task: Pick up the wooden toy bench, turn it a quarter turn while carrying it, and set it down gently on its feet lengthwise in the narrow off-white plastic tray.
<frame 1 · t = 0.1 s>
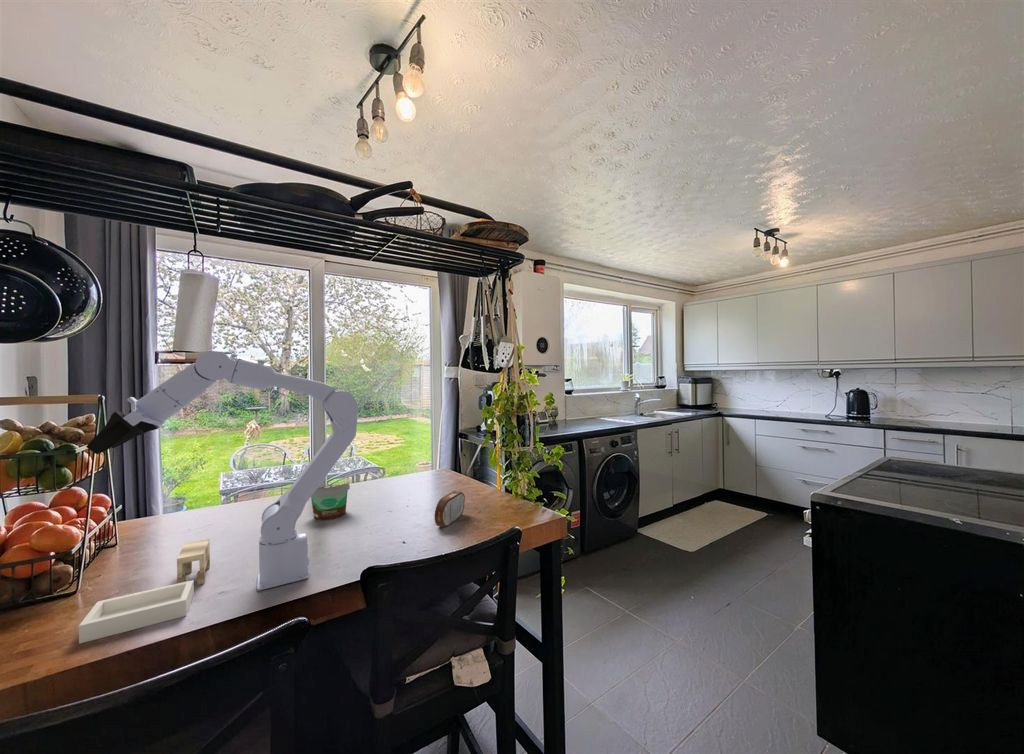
hand: (100, 447, 72), 32 cm above the table, tool tilted 50°, fingers open, 7 cm apart
food container: (331, 517, 124), on the table
tin: (451, 522, 118), on the table
tray: (142, 616, 73), on the table
wooden toy bench: (194, 577, 87), on the table
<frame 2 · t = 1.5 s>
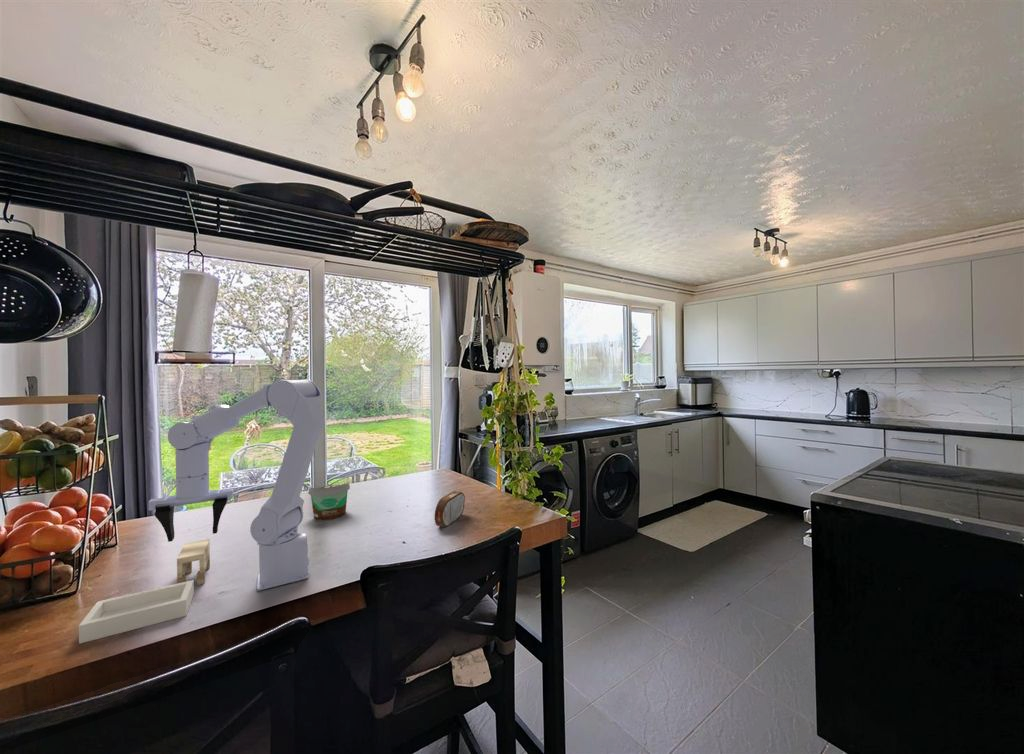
hand: (193, 535, 87), 9 cm above the table, tool pointing down, fingers open, 7 cm apart
nothing on the table moved.
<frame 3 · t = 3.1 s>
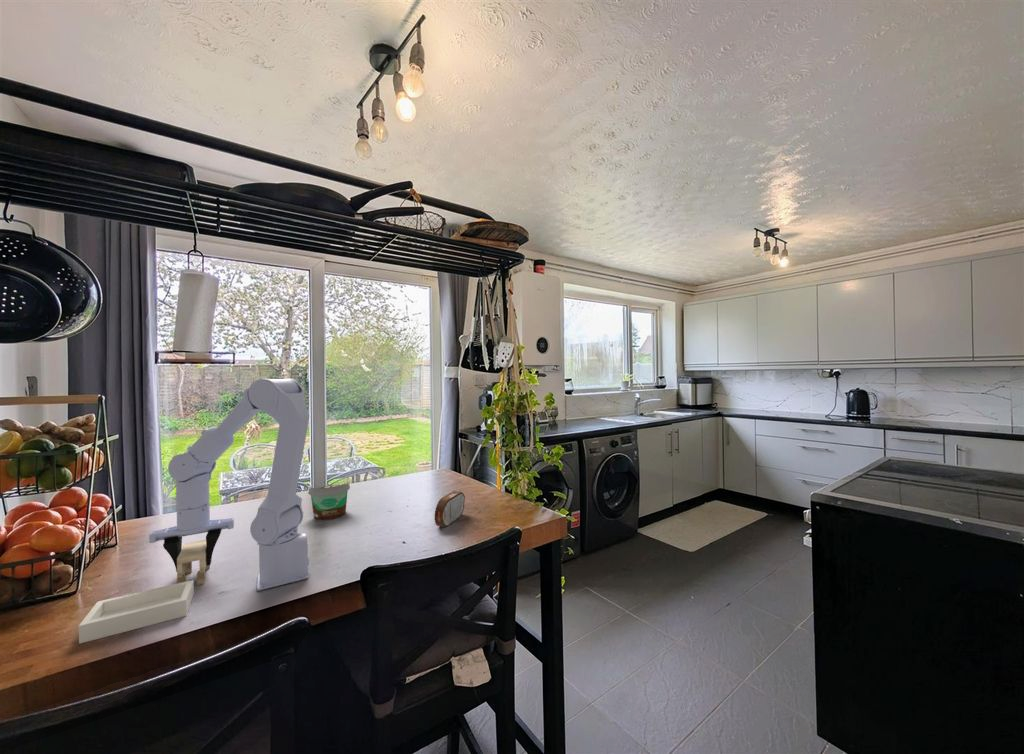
hand: (194, 566, 87), 2 cm above the table, tool pointing down, fingers closed on wooden toy bench, 4 cm apart
wooden toy bench: (194, 577, 87), on the table, touching gripper
everything else where it was.
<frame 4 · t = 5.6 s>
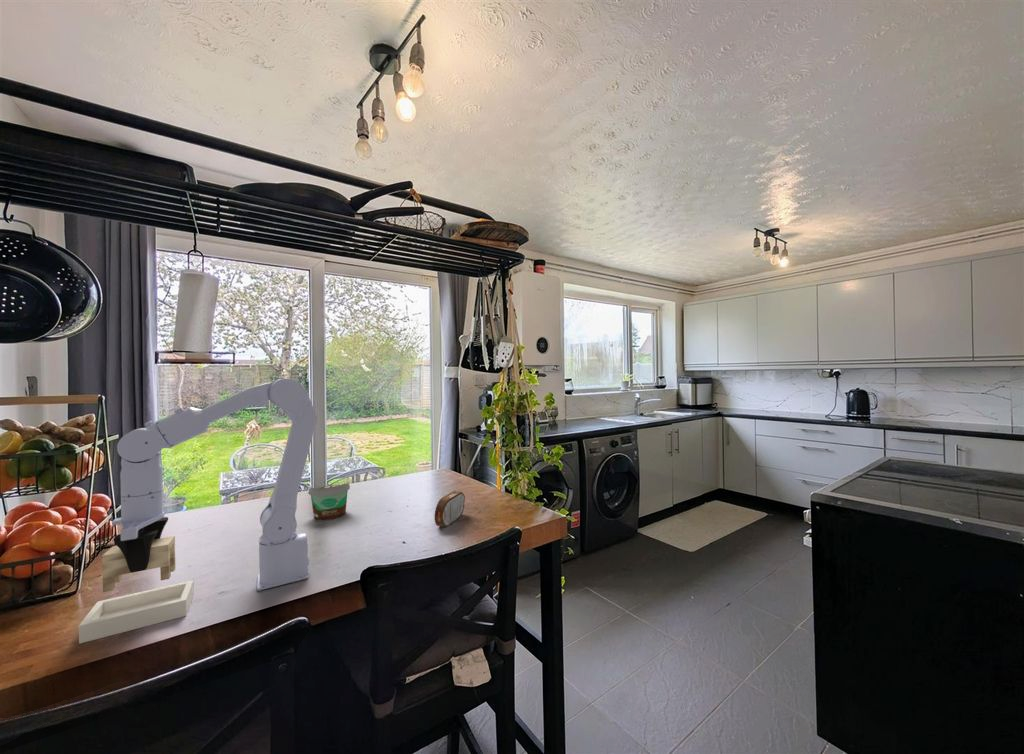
hand: (143, 564, 73), 9 cm above the table, tool pointing down, fingers closed on wooden toy bench, 4 cm apart
wooden toy bench: (141, 579, 73), point 7 cm above the table, touching gripper
everything else where it was.
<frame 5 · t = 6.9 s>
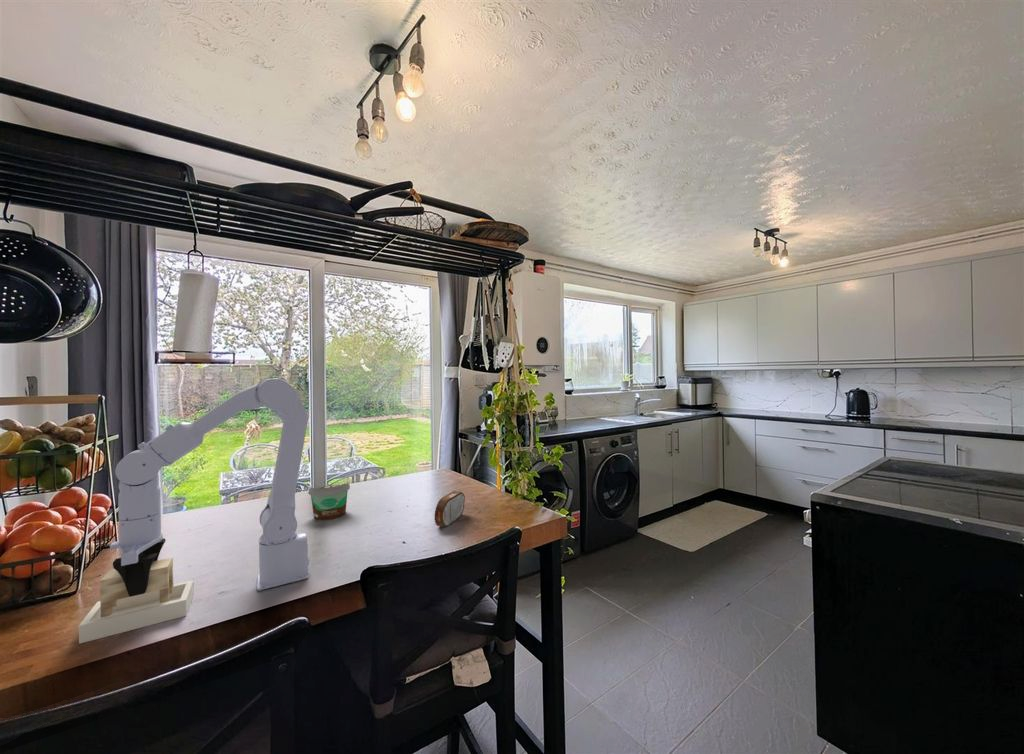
hand: (141, 588, 73), 5 cm above the table, tool pointing down, fingers closed on wooden toy bench, 4 cm apart
wooden toy bench: (139, 603, 73), point 3 cm above the table, touching gripper
everything else where it was.
when the fingers open (4 cm above the table, at t = 8.0 s): wooden toy bench stays where it is, resting on tray.
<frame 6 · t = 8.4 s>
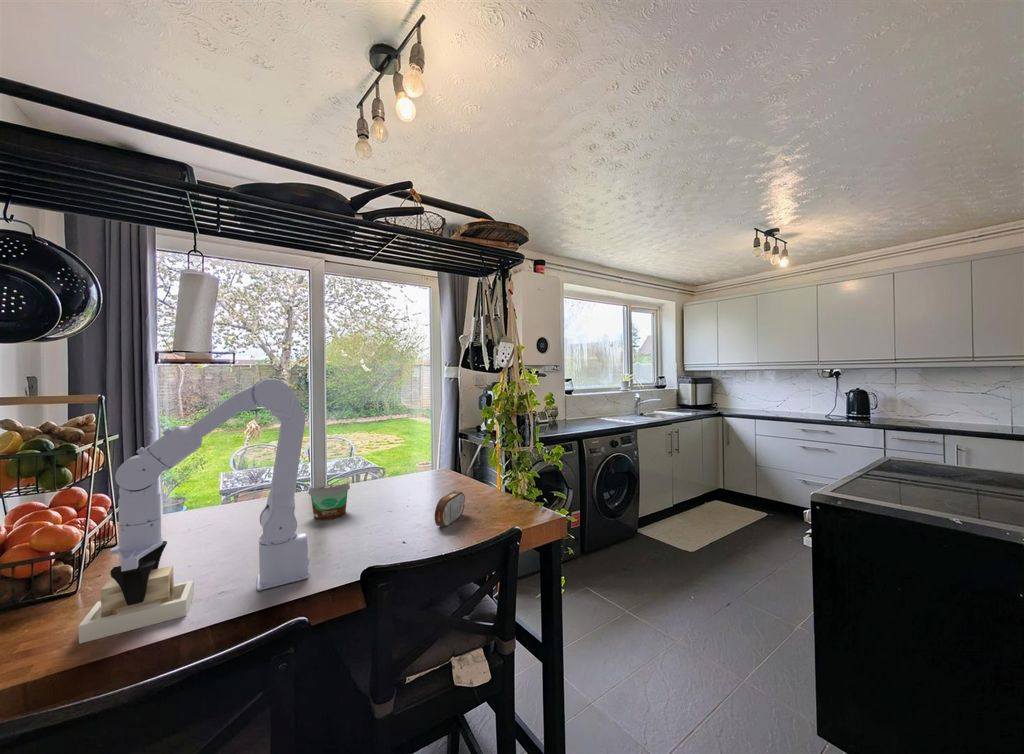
hand: (141, 593, 73), 4 cm above the table, tool pointing down, fingers open, 7 cm apart
wooden toy bench: (139, 611, 73), point 1 cm above the table, touching tray
everything else where it was.
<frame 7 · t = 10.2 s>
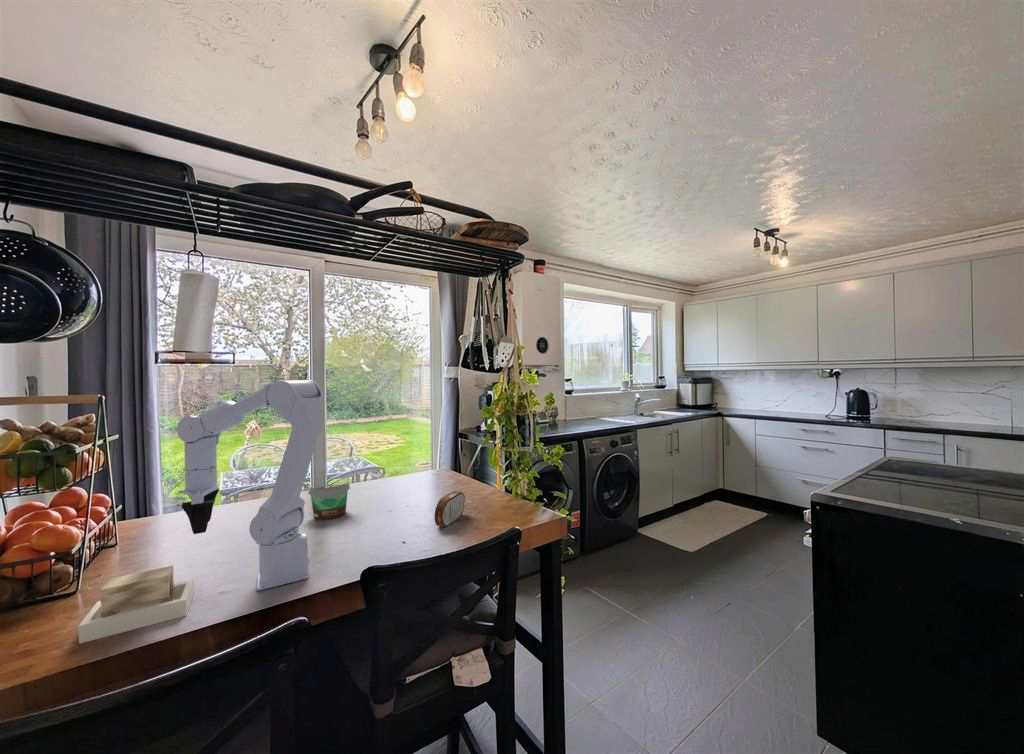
hand: (202, 527, 89), 10 cm above the table, tool pointing down, fingers open, 7 cm apart
nothing on the table moved.
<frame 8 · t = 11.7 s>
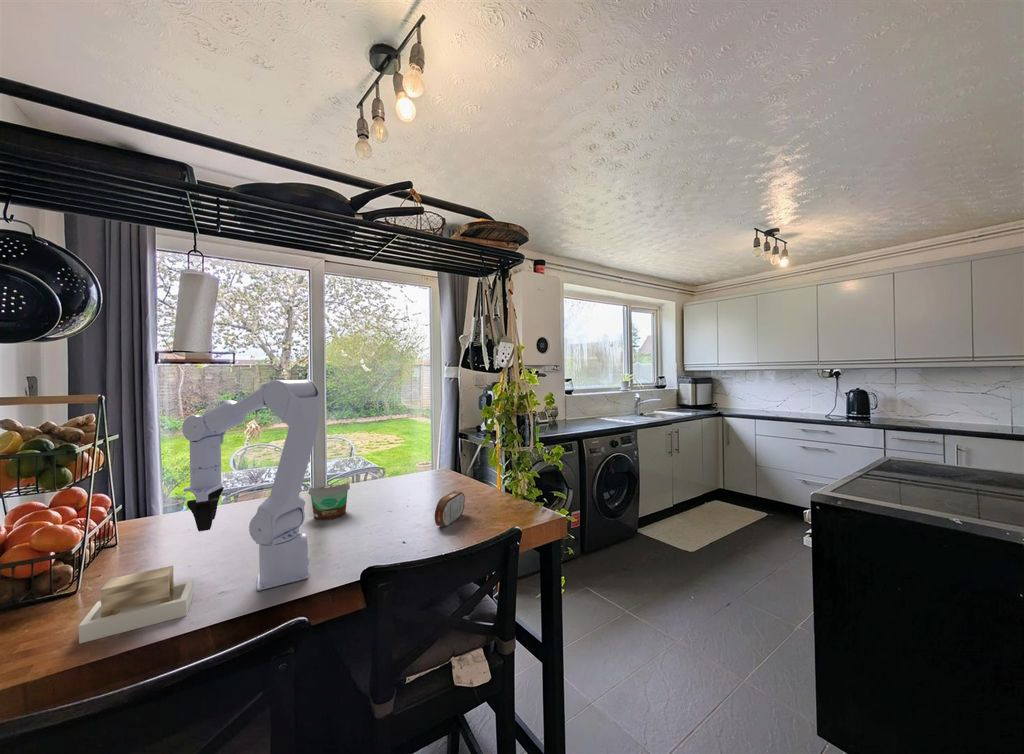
hand: (206, 524, 91), 10 cm above the table, tool pointing down, fingers open, 7 cm apart
nothing on the table moved.
at the end: wooden toy bench 0.3 cm off-centre on the tray, point 1.0 cm above the tray's base; wooden toy bench tilted 0°; the gripper is holding nothing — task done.
